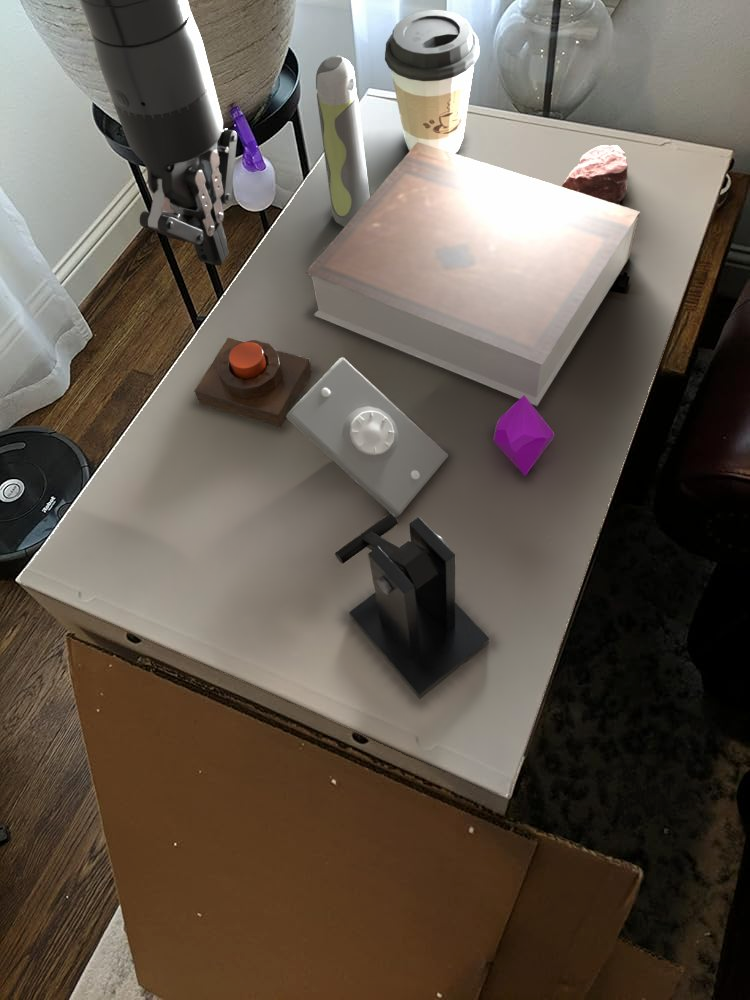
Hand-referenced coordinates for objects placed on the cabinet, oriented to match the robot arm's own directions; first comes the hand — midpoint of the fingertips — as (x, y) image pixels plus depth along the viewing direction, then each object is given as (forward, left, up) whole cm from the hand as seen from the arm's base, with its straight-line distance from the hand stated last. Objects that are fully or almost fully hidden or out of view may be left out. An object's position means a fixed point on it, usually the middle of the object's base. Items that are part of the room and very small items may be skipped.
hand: (215, 258), depth 78 cm
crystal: (+1, -29, -19) cm, 35 cm away
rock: (+40, -26, -19) cm, 52 cm away
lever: (-19, -25, -9) cm, 33 cm away
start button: (0, 0, -15) cm, 15 cm away
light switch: (-5, -15, -19) cm, 25 cm away
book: (+21, -17, -19) cm, 33 cm away
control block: (0, 0, -19) cm, 19 cm away
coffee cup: (+44, -4, -19) cm, 49 cm away
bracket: (-21, -26, -19) cm, 38 cm away
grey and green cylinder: (+28, +1, -19) cm, 34 cm away
